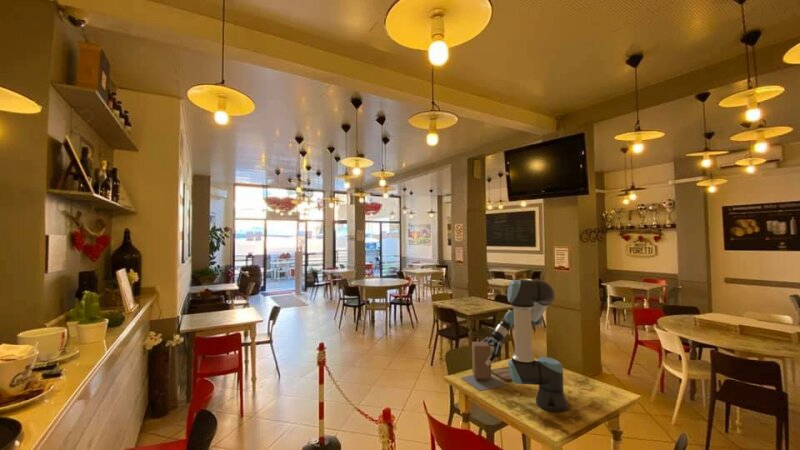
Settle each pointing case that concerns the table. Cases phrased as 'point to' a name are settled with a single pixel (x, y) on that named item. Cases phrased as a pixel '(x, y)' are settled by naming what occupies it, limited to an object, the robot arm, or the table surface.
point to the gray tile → (483, 382)
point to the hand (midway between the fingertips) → (480, 361)
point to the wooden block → (481, 360)
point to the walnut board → (502, 373)
